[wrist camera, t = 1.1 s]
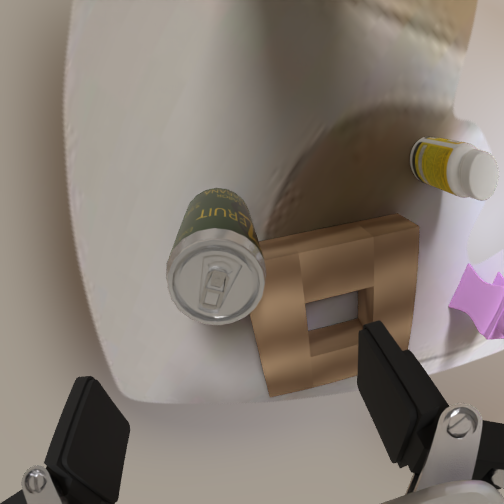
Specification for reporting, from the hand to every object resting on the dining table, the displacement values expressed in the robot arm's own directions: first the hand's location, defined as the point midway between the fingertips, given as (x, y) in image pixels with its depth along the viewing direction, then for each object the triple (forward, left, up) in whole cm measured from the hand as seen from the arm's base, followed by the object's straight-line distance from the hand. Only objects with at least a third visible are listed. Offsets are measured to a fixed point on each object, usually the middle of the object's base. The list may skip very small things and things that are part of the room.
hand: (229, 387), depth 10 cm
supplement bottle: (-2, +21, -19) cm, 28 cm away
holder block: (+11, +9, -18) cm, 23 cm away
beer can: (0, 0, -19) cm, 19 cm away
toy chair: (+16, +31, -19) cm, 39 cm away
